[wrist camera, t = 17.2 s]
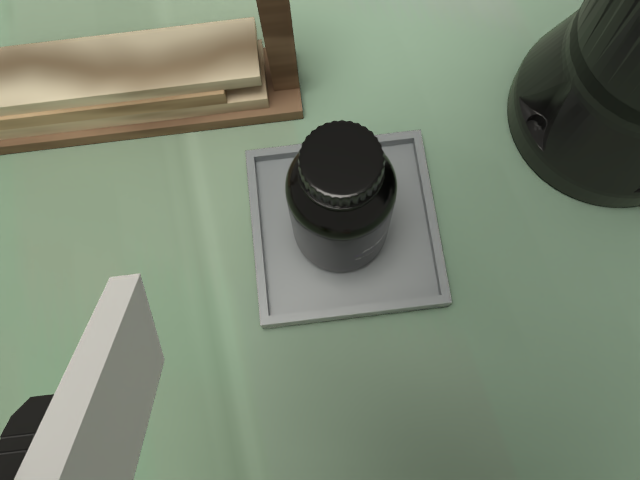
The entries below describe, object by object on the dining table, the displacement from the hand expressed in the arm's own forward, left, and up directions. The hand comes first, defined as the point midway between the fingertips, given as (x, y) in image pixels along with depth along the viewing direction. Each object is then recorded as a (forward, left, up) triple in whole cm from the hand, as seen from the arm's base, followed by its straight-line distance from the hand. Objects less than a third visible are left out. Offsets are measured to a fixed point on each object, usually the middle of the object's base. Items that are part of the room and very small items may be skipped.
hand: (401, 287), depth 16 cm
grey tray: (-9, -6, -28) cm, 30 cm away
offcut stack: (-11, -26, -26) cm, 38 cm away
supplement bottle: (-8, -6, -27) cm, 29 cm away
